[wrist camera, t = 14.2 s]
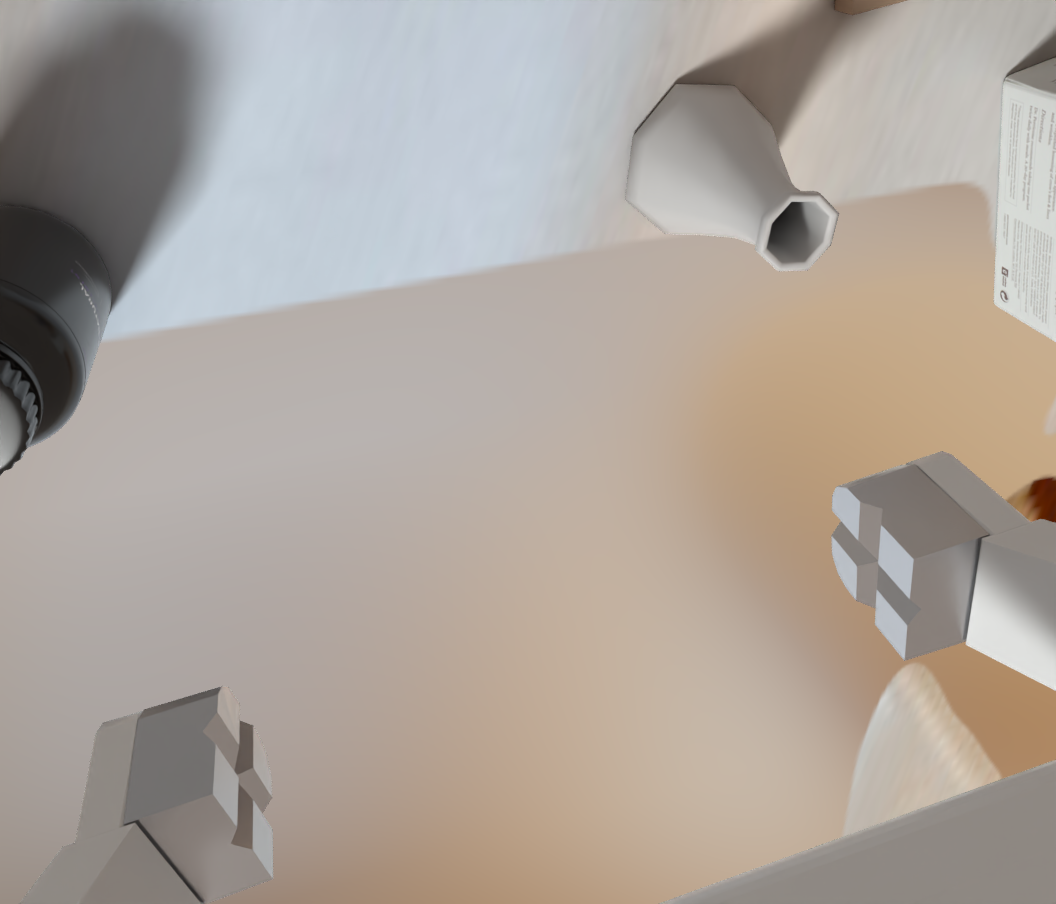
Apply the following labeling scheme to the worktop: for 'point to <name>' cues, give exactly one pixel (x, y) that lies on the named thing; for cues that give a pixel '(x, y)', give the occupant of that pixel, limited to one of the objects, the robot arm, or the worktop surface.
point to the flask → (724, 178)
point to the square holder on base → (862, 5)
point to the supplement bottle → (45, 325)
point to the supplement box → (1028, 199)
